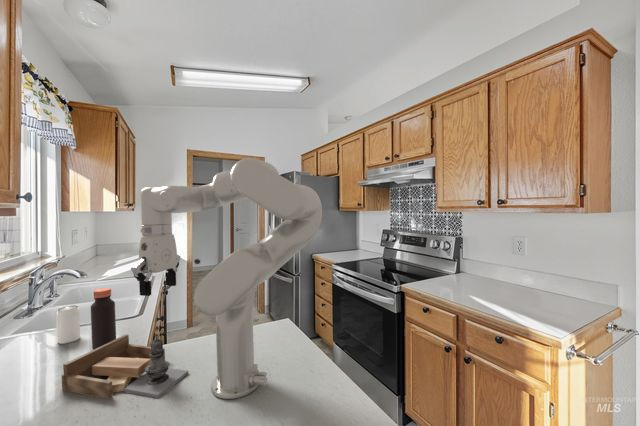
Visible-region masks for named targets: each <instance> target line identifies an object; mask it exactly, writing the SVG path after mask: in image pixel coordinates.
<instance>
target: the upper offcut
mask: <svg viewBox="0 0 640 426" xmlns="http://www.w3.org/2000/svg"><path fill="white" fill-rule="evenodd" d="M150 364H151V359H145V358H122V357H106V358H104V359H103V360H101V361H99V362H98V363H96V364H95V365H93V366H92V375H95V376H104V377H106V376H107V377H109V376H123V377H131V378H140V377H142V376H143V375H144V373H145V372H146V371H145V369H146V367H147V366H149V365H150ZM146 373H147V372H146Z"/></svg>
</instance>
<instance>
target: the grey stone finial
mask: <svg viewBox="0 0 640 426" xmlns="http://www.w3.org/2000/svg"><path fill="white" fill-rule="evenodd" d="M163 346H164V345H163V340H162V339H161V338H158V336H155V338H154V339H153V340H152V341H151V342H150V347H151V353H150V356H151V364H150V365H149V366H147V367H146V369H145V371H146V373H147V375H148V377H150V378H149V379H148V380H147V384H148V385H157V384H161V383H163V382H165V381H166V380H167V379H168V378H169V375H168V374H166V372H167V370H168V368H170V362H169V361H167V360H165V361H164V358H163V353H164V350H163V348H164V347H163Z"/></svg>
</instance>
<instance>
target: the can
mask: <svg viewBox="0 0 640 426" xmlns="http://www.w3.org/2000/svg"><path fill="white" fill-rule="evenodd" d="M78 307H79V306H78V305H66V306H63V307H61V308H60V307H59V308H58V309H57V312H56V314H55V315H56V316H55V317H56V320H55V321H56V339H57V343H58V344H59V345H64V344H70V343H74V342H76V341H78V340H79V339H80V338H81V317H80V309H79V308H78Z"/></svg>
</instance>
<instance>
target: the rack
mask: <svg viewBox="0 0 640 426" xmlns="http://www.w3.org/2000/svg"><path fill="white" fill-rule="evenodd" d="M129 338H130V335H129V334H123V335H121V336H119V337H116V339H115V340H113V341H111V342H109V343H107V344H105V345H103V346H101V347H98V348H96V349H94V350H93V349H92V350H90V351H87V352H86V353H84V354H82V355H80V356H78V357H76V358H73V359H72V360H70V361H68V362H66V363H63V364H62V366H63V374H61V390H62V391H66V392H72V393H77V394H81V395H86V396H90V397H91V396H92V397H96V398H102V399H107V400H110V399H111V398H113V397H114V395H113V394H114V392H113V391H112V381H109V380H107V379H102V378H97V377H96V378H95V376H96V375H92V366H93V365H95V364H96V363H98V362H99V361H101V360H103V359H104V358H106V357H122V358H138V357H139V358H145V359H151V356H150V353H151V346H148V345H142V344H141V345H140V344H132V343H129V342H130V341H129V340H130V339H129ZM163 350H164V353H163V358H164V361H166V355H165V354H166V352H165V351H166V350H165V348H164V347H163Z"/></svg>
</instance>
